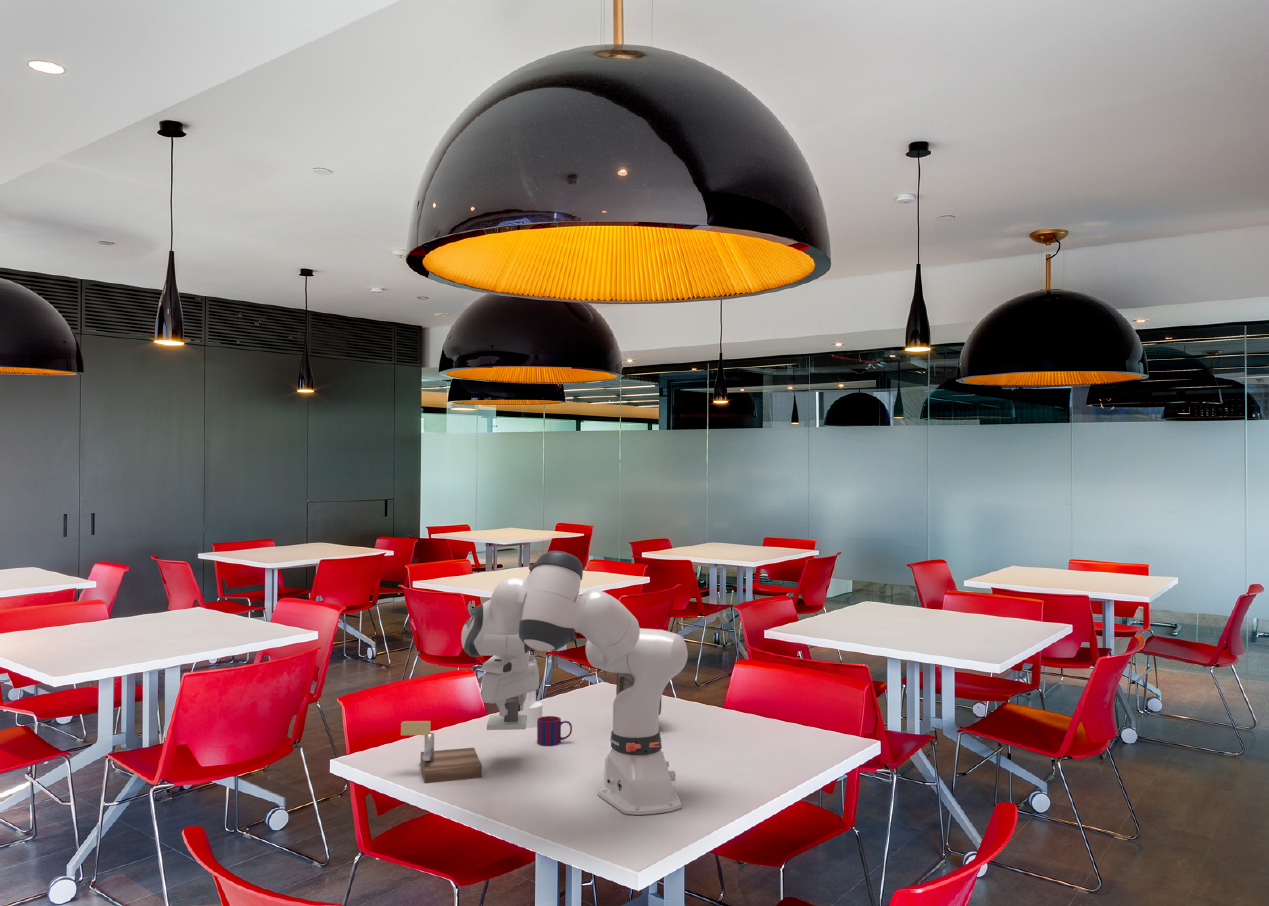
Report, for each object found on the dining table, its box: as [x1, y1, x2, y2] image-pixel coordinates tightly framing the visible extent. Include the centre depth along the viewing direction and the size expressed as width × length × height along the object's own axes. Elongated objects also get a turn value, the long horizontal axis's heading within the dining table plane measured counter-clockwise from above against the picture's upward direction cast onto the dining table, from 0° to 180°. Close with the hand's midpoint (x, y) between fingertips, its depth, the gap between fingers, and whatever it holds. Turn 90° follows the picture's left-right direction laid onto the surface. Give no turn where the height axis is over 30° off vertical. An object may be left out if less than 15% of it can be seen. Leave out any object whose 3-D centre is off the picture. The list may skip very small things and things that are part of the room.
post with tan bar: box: [400, 720, 435, 762], centre depth 215 cm, size 8×5×10 cm, turn 94°
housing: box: [420, 747, 483, 784], centre depth 219 cm, size 16×14×3 cm
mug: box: [536, 715, 573, 747], centre depth 244 cm, size 7×10×7 cm
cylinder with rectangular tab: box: [518, 690, 543, 729], centre depth 265 cm, size 9×9×12 cm
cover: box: [486, 698, 527, 731], centre depth 226 cm, size 10×10×6 cm
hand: (511, 713), depth 226 cm, fingers closed on cover, 5 cm apart
